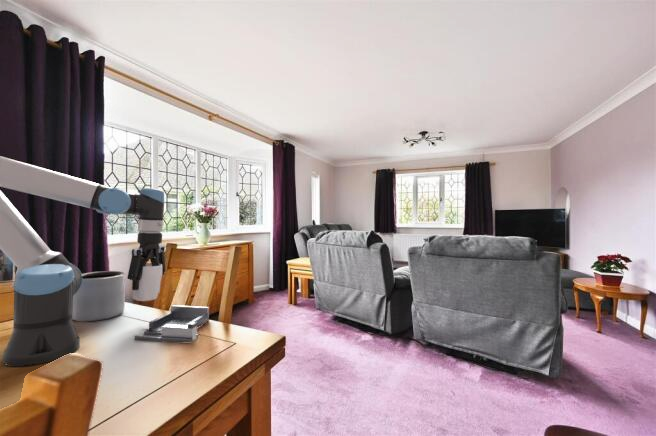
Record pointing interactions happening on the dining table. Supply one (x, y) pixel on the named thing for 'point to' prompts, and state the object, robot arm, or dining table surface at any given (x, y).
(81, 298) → the planter
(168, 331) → the grey flat block
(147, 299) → the cup
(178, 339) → the guide
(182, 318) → the grey rail tray
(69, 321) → the robot arm
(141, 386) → the dining table surface
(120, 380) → the dining table surface
